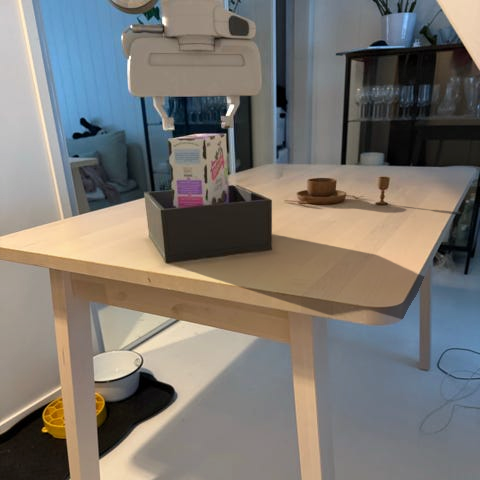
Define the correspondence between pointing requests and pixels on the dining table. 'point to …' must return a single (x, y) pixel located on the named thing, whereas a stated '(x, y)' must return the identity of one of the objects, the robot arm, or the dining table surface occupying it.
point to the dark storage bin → (209, 225)
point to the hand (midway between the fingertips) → (198, 129)
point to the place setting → (332, 191)
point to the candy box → (199, 170)
